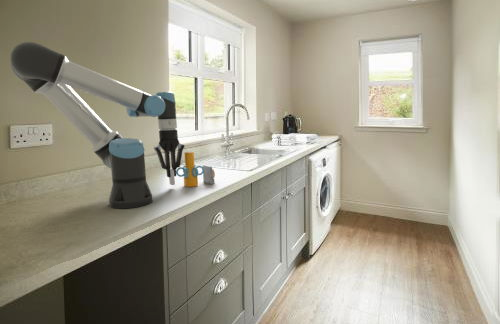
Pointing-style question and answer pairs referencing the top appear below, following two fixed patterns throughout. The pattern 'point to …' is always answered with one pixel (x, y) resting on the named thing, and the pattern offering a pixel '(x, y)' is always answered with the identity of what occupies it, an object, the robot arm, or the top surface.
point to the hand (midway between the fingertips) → (172, 184)
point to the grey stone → (208, 174)
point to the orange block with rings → (190, 171)
